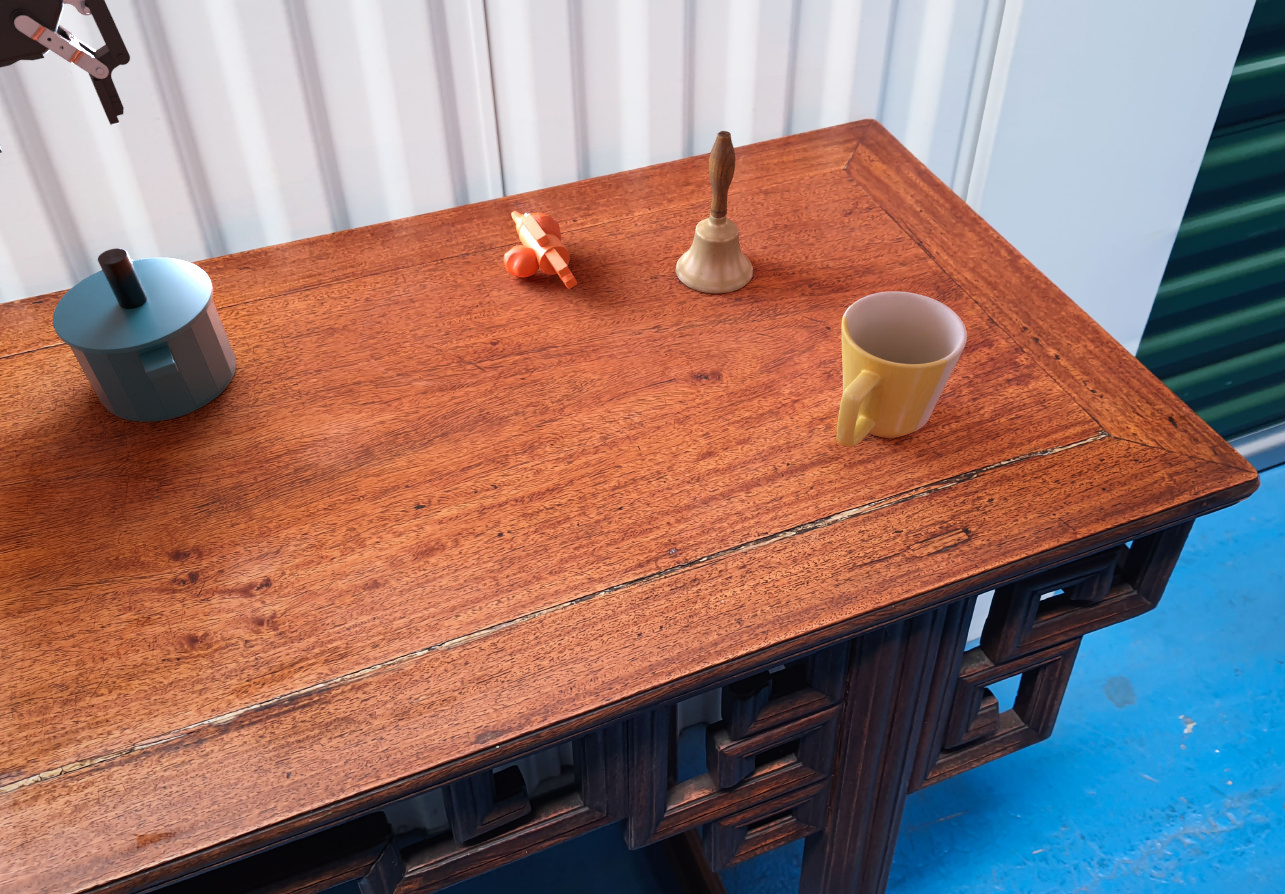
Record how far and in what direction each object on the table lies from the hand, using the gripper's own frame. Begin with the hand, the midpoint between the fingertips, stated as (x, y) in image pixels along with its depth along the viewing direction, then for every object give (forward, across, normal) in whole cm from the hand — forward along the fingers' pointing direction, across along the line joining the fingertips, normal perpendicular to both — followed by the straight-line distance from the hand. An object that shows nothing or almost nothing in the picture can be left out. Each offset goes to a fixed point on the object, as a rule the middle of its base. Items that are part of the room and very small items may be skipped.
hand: (55, 134), depth 77 cm
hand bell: (+25, -54, +13) cm, 61 cm away
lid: (+17, 0, 0) cm, 17 cm away
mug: (+25, -53, +40) cm, 71 cm away
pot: (+25, 0, 0) cm, 25 cm away
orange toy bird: (+25, -38, +3) cm, 46 cm away
